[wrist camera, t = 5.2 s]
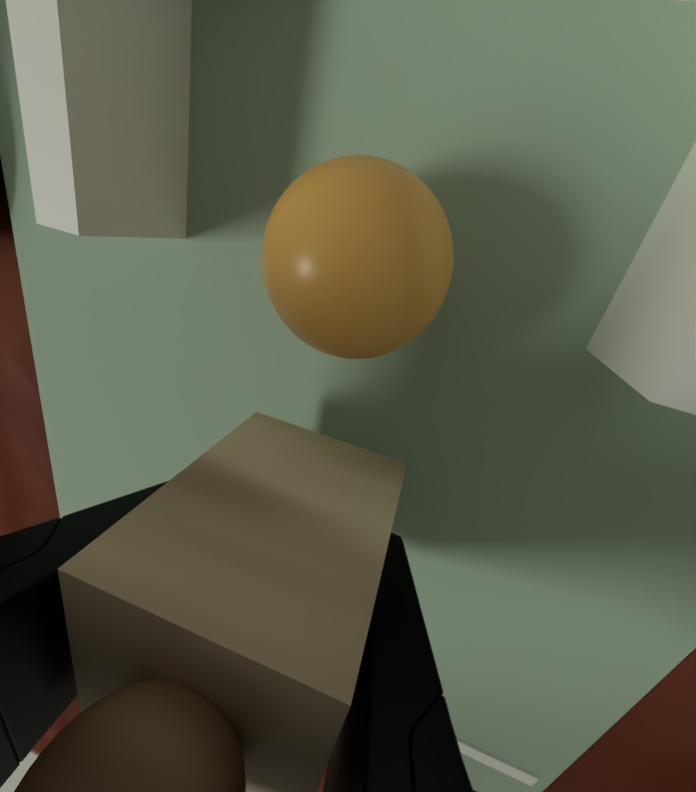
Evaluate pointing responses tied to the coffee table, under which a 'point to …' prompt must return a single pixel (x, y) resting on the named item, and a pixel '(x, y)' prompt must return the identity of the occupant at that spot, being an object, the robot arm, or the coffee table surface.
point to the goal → (168, 168)
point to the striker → (225, 620)
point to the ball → (357, 256)
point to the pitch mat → (432, 349)
